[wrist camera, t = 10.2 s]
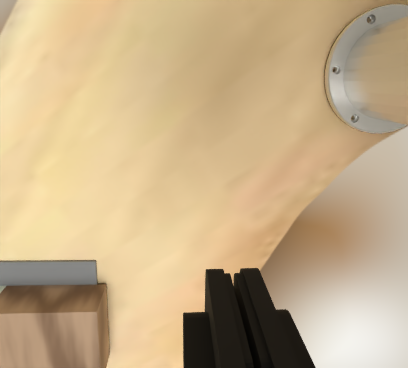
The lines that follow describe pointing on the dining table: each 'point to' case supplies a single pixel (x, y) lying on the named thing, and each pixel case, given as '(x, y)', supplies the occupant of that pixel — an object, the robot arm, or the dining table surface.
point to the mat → (48, 273)
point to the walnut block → (54, 326)
